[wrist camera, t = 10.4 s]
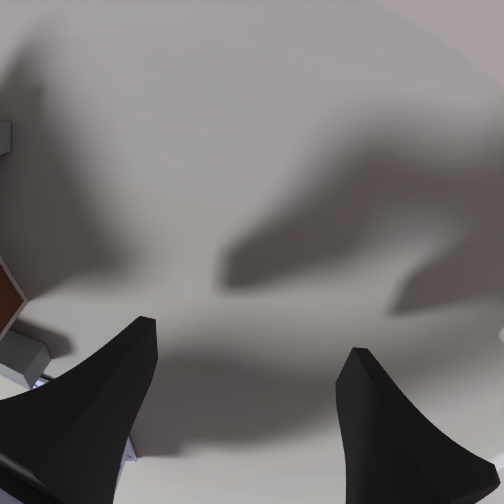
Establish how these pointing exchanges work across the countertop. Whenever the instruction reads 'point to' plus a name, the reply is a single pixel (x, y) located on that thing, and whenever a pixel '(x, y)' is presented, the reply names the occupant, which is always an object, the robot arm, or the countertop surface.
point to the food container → (9, 299)
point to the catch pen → (14, 344)
